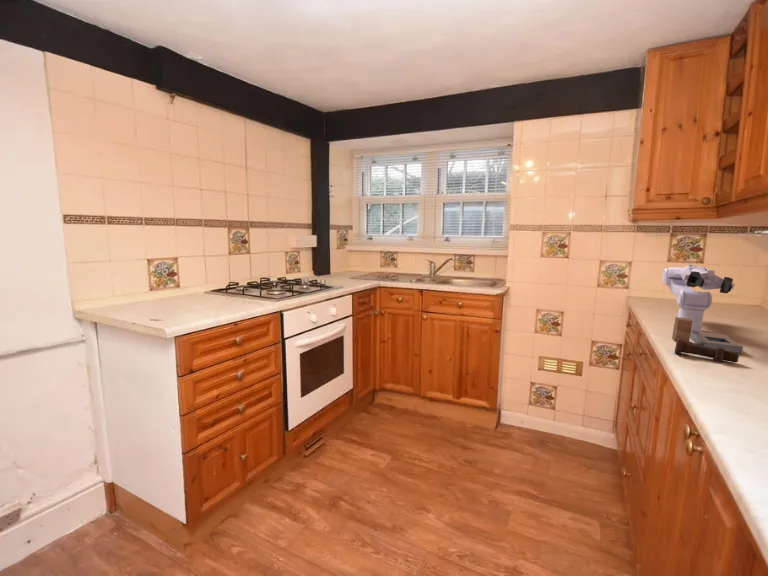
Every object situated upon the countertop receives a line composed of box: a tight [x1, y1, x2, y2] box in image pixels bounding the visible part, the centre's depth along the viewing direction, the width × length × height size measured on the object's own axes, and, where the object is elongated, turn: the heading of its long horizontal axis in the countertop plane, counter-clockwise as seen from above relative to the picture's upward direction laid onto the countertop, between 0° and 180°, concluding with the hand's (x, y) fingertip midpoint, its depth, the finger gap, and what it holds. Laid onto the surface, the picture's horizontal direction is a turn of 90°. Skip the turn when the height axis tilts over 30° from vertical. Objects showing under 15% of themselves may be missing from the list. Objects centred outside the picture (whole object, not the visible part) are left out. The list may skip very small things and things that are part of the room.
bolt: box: [674, 338, 740, 364], centre depth 122 cm, size 6×5×15 cm
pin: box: [671, 316, 692, 343], centre depth 140 cm, size 4×4×8 cm
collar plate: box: [690, 331, 744, 355], centre depth 136 cm, size 16×10×2 cm, turn 156°
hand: (716, 286), depth 133 cm, fingers open, 7 cm apart
